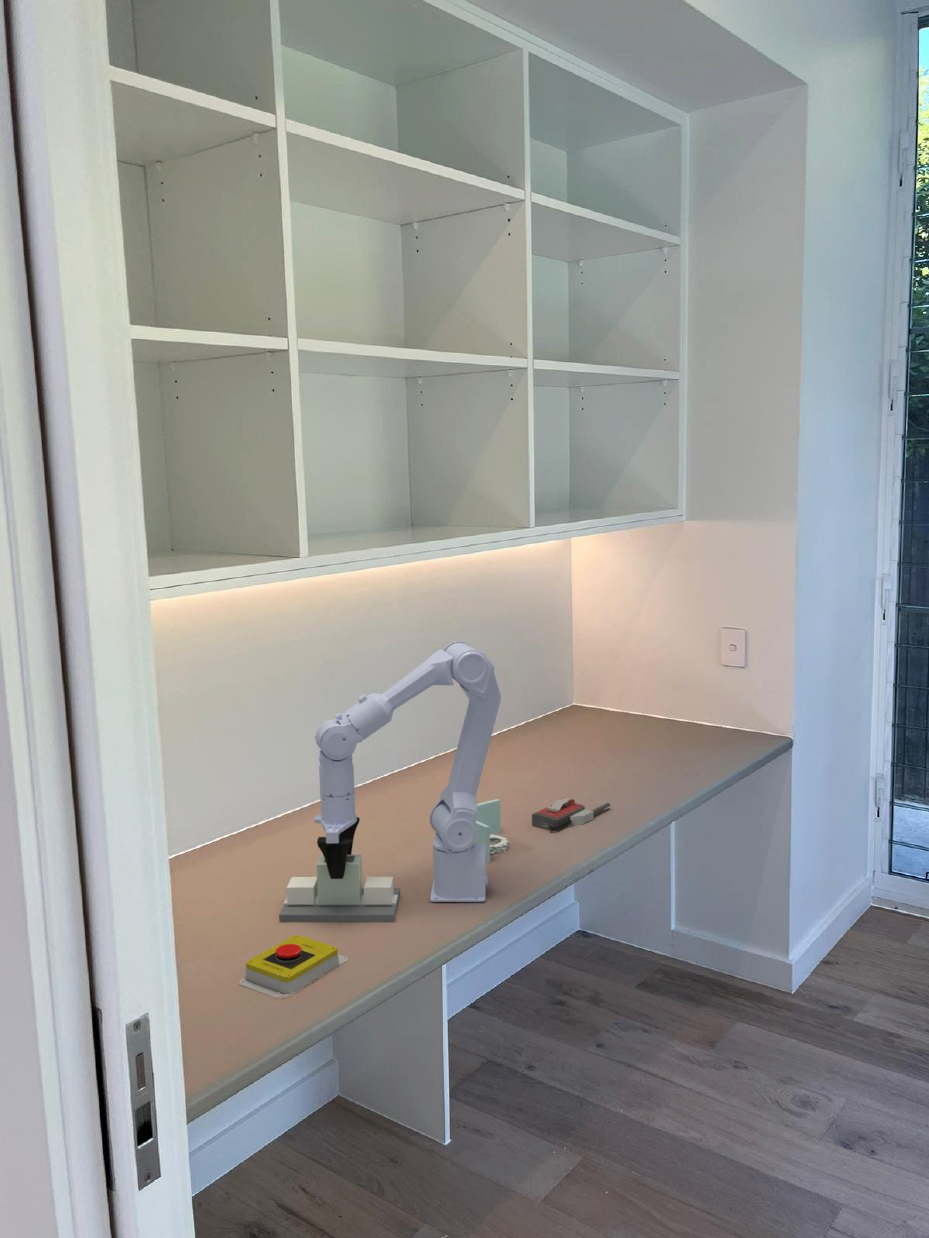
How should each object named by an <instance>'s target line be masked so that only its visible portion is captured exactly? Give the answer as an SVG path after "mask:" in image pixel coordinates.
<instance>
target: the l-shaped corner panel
mask: <svg viewBox="0 0 929 1238" xmlns="http://www.w3.org/2000/svg"><path fill="white" fill-rule="evenodd" d="M476 826H477V837H476V840H475V842H474V843H477V844H483V845H485V854H486V864H487V863H488V864H489V863H490V862H491V855H493V854H501V853H506V852H507V850H508V849H509V848H508V847H509V846H510V843H509V840H508V837H504V836H500V835H501V831H502V830H501V827H502V826H501V799H498V798H495V799H491V800H487V801H484V802H483V801H482V802H480V803H479V802H478V803H477V816H476Z"/></svg>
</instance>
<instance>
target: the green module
mask: <svg viewBox="0 0 929 1238" xmlns="http://www.w3.org/2000/svg"><path fill="white" fill-rule="evenodd" d="M362 865H363V861H362V854H351V855H347V857H346V866H345V873H344V877H343V879H331V878H330V875H329V872H328V868H327V864H326V860H325V858H324V855H323V854H320V855H319V859H318V861H317V863H316V877H317V882H318V905H331V904H360V902H361V898H362V894H363V888H364V886H363V866H362Z"/></svg>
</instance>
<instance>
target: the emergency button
mask: <svg viewBox="0 0 929 1238" xmlns="http://www.w3.org/2000/svg"><path fill="white" fill-rule="evenodd" d="M338 952H339V951H338V948H337V947H336V946H334V945H331V944H329V943H325V942H322V941H319V940H316V939H313V938H309V937H306V936H303V935H300V934H295V935H292V936H290V937H288V938H286V939H284V940H283V941H281V942H279V943H277V944H275V945H273V946H272V947H270V948H268V949H266V950H264V951H263V952H260V953H259V954H257V955H255V956H253V957H251V958H250V959H248V960H246V961H245V977H243V978H241V979H240V980H239V981H238V985H239V986H241V987H243V988H246V989H248V990H251V991H254V992H256V993H259V992H260V993H259V994H262V993H263V995H264V996H267V995H268V997H270V996H272V997H274V996H276V997H278V996H284V995H285V994H291V993H293V992H296V991H297V990H298V989H301V988H302V987H303V986H305V985H308V983H311V982H313V981H314V980H316V979H318V978H319V977H321V976H322V975H324V976H325V974H326V973H327V974H328V972H329V973H330V971H331V972H332V971H334V970H335V969H334V968H336V969H337V968H339V967H340V965H341V966H342V965H344V964H346V963H347V962H348V961H347V960H348V959H349V958H348V957H347V956H346V955H345V956H344V955H342V954H339V953H338ZM346 961H347V962H346ZM343 963H344V964H343ZM333 969H334V970H333ZM327 974H326V975H327ZM322 977H323V976H322ZM322 977H321V978H322ZM319 979H320V978H319ZM319 979H318V980H319ZM316 981H317V980H316ZM314 982H315V981H314ZM314 982H313V983H314ZM311 984H312V983H311ZM308 986H309V985H308ZM301 990H302V989H301ZM279 992H280V993H279ZM278 993H279V994H280V995H279V994H278ZM296 993H297V992H296ZM283 994H284V995H283ZM285 996H288V995H285ZM272 997H271V998H272ZM276 997H275V998H276ZM275 998H274V999H275Z"/></svg>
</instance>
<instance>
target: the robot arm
mask: <svg viewBox="0 0 929 1238" xmlns="http://www.w3.org/2000/svg"><path fill="white" fill-rule="evenodd" d="M453 680H454V681H455V682H456V683H458V684H459V686H460V687H461V690H462V691H463V693H464V694H465V695H466V697H467V698H468V705H467V709H466V712H465V717H464V720H463V724H462V729H461V731H460V735H459V740H458V743H457V747H456V751H455V754H454V755H455V756H454V758H453V763H452V767H451V770H450V774H449V778H448V782H447V786H446V787H445V788H444V789H443V790H442V791H441V793H440V797H439V799H438V800H437V801H438V802H437V803H436V804H435V805H434V806H433V808H432V809H431V811H430V813H429V814H430V815H429V823H430V826H431V828H432V829H433V830H434V831H435V837H434V838H433V841H432V863H433V864H432V865H433V866H432V868H433V869H432V871H433V872H432V873H433V875H432V877H433V882H432V885H431V891H430V898H429V900H430V902H431V903H445V902H446V903H453V902H454V903H459V902H460V903H473V902H474V903H475V902H476V903H477V902H478V903H483V902H486V897H487V895H486V892H487V890H486V889H487V887H488V886H489V885H488V882H489V881H488V875H487V869H486V864H487V863H486V854H485V845H483V844H477V843H474V842H475V840H476V837H477V826H476V816H477V804H478V803H477V792H478V789H479V784H480V780H481V777H482V773H483V769H484V765H485V763H486V762H485V761H486V757H487V753H488V750H489V746H490V743H491V739H492V735H493V731H494V727H495V723H496V719H497V716H498V712H499V709H500V708H499V707H500V705H501V704H500V703H501V699H502V696H501V695H502V694H501V692H500V688H499V686H498V681H497V679H496V674H495V666H494V664H493V663H492V662H491V661H490V659H489V658H488V657H487V656H486V655H485V653H483V652H482V651H480V650H478V649H475V648H474V647H472V646H471V645H470V644H469V643H467V642H465V641H460V640H458V641H457V640H455V641H452V642H450V643H449V644H447V645H446V646H445V647H444V648H443V649H442V648H441V649H439V650H436V651H435V652H433V654H431V656H429V657H428V658H427V659H426V660H425V661H423V662H422V663H421V664H420V665H418V666H417V667H415V668H414V669H413V670H412V671H410V672H409V673H408V674H406V675H404V677H403V678H401V679H400V680H399V681H397V682H396V683H395V684H393V685H392V686H391V687H390V688H388V689H387V690H386V691H384V692H383V693H377V692H376V693H375V692H372V693H369V694H368V695H366V694H365V693H363V694H362V695H360V696H358V702H356V703H355V704H353V705H352V706H351V707H349V708H348V709H346V710H344V712H342V713H341V712H337V713H336V714H335V715H334V717H335V718H334V719H327V720H325V721H324V722H322V723H321V724H320V725H319V727H318V730H317V731H316V735H315V736H314V740H315V742H316V745H317V747H318V748H319V749H320V750H319V758H318V760H319V766H318V767H319V768H318V770H319V791H320V793H319V795H320V814H318V815H316V816H314V821H313V822H314V823H315V824H321V827H322V828H323V829H324V832H325V836H318V838H317V839H316V840H317V841H316V843H317V847H318V849H319V850H320V851H321V853H322V855H324V858H325V860H326V864H327V868H328V872H329V875H330V878H331V879H343V877H344V873H345V866H346V857H347V855H352V853H353V845H354V840H355V839H354V838H355V833H356V830H357V828H358V826H359V824H360V820H361V819H360V817H358V816H357V814H356V797H355V796H356V795H355V793H356V792H355V773H354V771H355V770H354V768H355V766H354V764H353V754H354V753H355V751H356V747H357V744H359V743H361V742H363V741H364V740H366V739H368V738H369V737H370V736H371V735H373V734H374V733H376V732H377V731H379V730H380V729H381V728H383V727H385V726H387V724H389V723H391V721H392V718H393V714H394V711H395V710H396V709H398V708H399V707H401V706H403V705H404V704H406V703H408V702H409V701H410V700H412V699H414V698H415V697H416V696H418V695H420V694H421V693H423V692H425V691H426V690H427V689H429V688H431V687H432V686H454V685H455V684H454V681H453Z"/></svg>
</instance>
